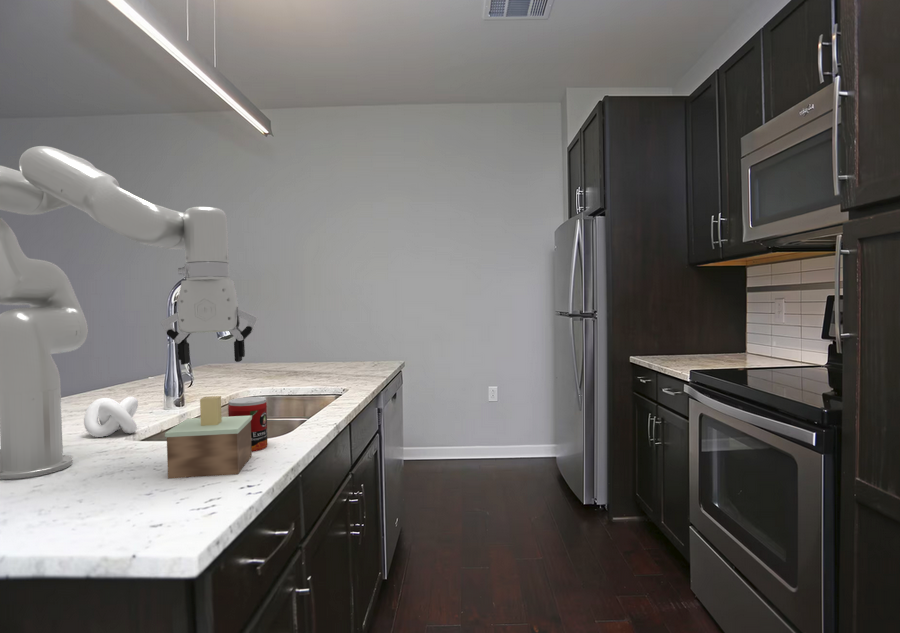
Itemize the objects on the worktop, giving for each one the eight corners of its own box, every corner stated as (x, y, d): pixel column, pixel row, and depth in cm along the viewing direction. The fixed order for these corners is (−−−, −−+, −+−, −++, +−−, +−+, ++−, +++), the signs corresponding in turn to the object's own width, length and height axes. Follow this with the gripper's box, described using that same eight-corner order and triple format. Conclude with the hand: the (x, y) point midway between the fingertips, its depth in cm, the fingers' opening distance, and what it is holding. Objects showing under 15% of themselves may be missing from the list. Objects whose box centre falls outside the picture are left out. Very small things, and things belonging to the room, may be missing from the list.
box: (167, 481, 96) (166, 436, 96) (189, 462, 108) (188, 422, 108) (238, 476, 98) (236, 433, 98) (251, 458, 110) (250, 419, 110)
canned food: (255, 455, 112) (254, 403, 112) (221, 454, 114) (220, 402, 113) (274, 446, 120) (273, 397, 119) (242, 444, 121) (241, 396, 121)
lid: (165, 437, 96) (164, 404, 96) (187, 422, 108) (186, 393, 108) (237, 433, 98) (237, 401, 98) (251, 419, 110) (251, 391, 110)
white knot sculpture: (110, 428, 141) (109, 394, 141) (154, 428, 140) (153, 394, 140) (77, 438, 130) (76, 401, 129) (124, 439, 129) (123, 401, 128)
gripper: (151, 273, 97) (156, 367, 98) (251, 270, 100) (255, 362, 100) (166, 275, 105) (171, 363, 105) (259, 273, 107) (262, 358, 108)
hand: (212, 362), depth 103 cm, fingers open, 9 cm apart
